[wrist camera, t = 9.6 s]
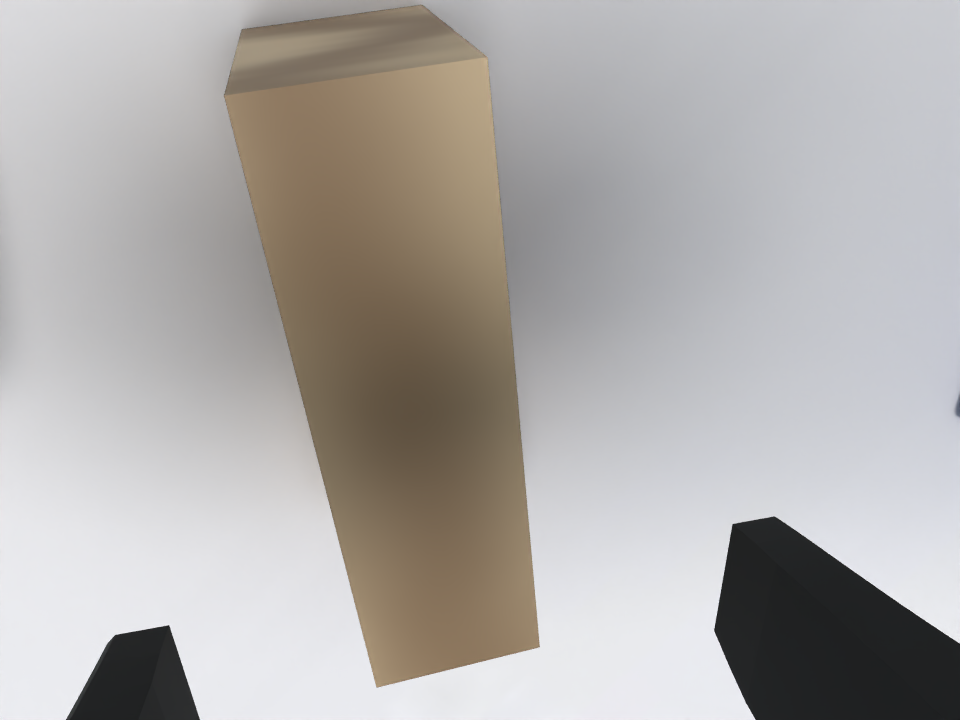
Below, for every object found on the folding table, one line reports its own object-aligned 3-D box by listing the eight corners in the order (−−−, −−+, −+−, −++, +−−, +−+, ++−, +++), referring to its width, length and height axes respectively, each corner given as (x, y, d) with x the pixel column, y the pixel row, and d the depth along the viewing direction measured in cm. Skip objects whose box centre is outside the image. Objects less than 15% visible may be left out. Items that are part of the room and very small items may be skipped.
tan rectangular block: (420, 4, 16) (487, 57, 11) (480, 473, 22) (539, 647, 17) (242, 28, 15) (223, 95, 10) (353, 501, 22) (376, 687, 17)
